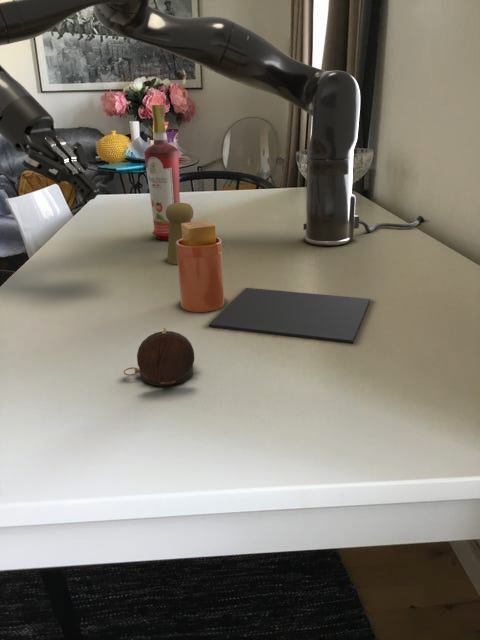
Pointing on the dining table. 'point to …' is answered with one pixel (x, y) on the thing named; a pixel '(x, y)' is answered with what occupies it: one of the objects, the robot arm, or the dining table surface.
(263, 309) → the mat
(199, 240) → the block
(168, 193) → the liquor
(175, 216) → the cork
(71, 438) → the dining table surface
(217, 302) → the tumbler
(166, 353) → the dark brown dome
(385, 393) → the dining table surface
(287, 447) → the dining table surface
